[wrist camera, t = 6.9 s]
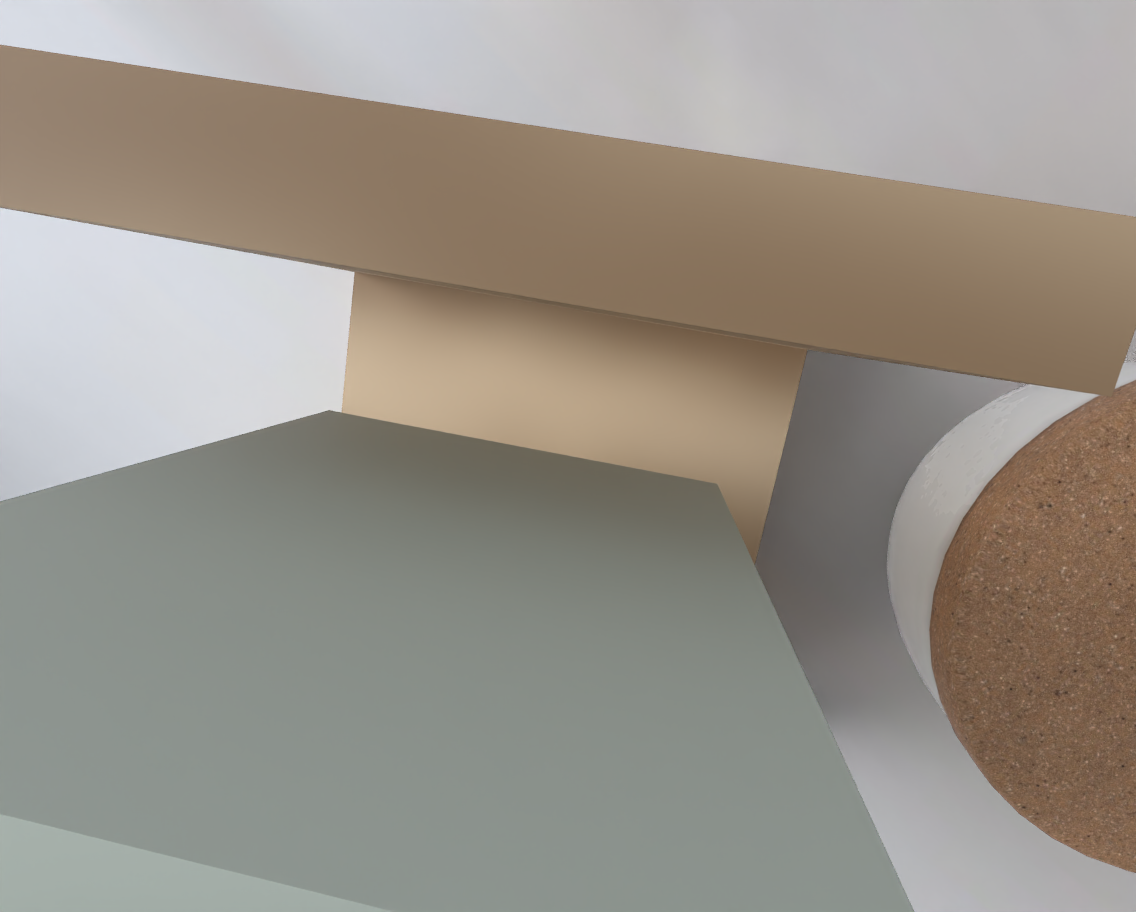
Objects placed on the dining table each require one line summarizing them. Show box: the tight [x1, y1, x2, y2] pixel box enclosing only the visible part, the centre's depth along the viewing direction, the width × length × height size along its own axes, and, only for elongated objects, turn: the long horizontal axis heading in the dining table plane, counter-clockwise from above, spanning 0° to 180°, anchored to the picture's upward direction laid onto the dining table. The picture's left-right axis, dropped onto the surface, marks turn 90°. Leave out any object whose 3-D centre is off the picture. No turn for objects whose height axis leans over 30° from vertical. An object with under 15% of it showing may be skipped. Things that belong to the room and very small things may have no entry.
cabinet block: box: [0, 410, 914, 912], centre depth 8 cm, size 8×7×9 cm
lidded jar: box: [887, 361, 1136, 873], centre depth 15 cm, size 11×11×9 cm
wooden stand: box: [0, 45, 1136, 565], centre depth 14 cm, size 14×12×14 cm
